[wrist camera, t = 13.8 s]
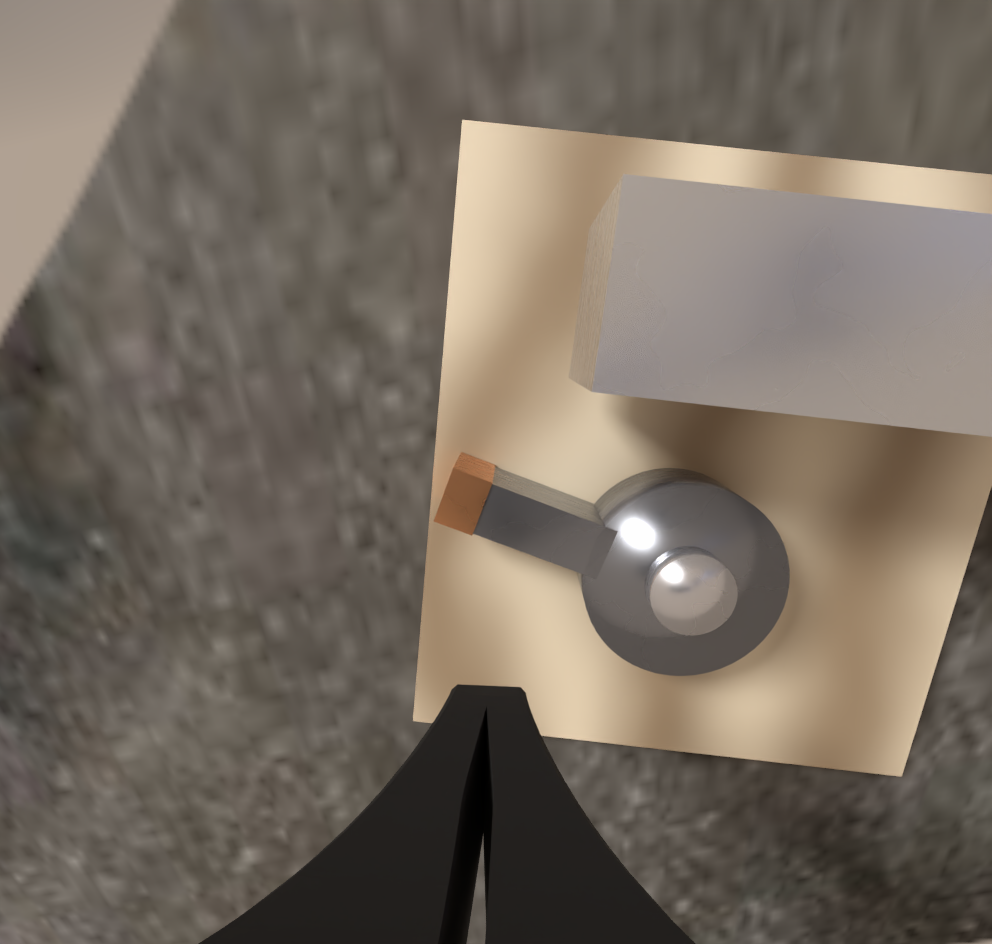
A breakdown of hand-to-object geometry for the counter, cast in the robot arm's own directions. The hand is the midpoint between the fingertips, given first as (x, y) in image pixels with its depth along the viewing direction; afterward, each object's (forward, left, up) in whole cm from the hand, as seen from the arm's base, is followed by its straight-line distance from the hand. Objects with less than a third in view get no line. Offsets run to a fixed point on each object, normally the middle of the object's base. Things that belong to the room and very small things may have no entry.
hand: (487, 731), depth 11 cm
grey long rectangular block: (-7, -8, -7) cm, 13 cm away
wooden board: (-6, -3, -10) cm, 12 cm away
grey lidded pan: (-3, -1, -9) cm, 9 cm away
